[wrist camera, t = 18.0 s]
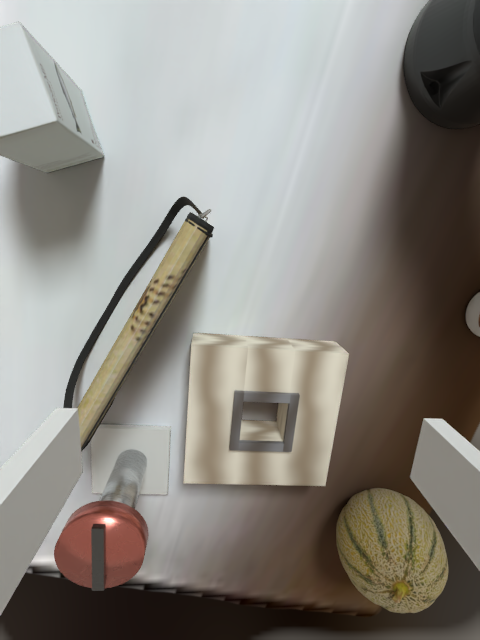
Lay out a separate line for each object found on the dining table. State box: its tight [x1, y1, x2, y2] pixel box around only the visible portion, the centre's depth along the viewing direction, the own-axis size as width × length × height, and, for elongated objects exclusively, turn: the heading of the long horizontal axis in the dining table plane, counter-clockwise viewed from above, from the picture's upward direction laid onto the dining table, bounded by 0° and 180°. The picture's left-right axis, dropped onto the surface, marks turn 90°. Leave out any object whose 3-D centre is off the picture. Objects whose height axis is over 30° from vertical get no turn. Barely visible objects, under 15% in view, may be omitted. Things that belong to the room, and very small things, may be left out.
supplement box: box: [0, 22, 104, 173], centre depth 32 cm, size 7×7×13 cm
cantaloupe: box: [336, 488, 448, 613], centre depth 48 cm, size 15×15×15 cm
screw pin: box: [54, 449, 148, 591], centre depth 41 cm, size 9×9×15 cm
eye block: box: [184, 333, 349, 486], centre depth 46 cm, size 20×20×6 cm
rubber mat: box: [91, 424, 171, 495], centre depth 49 cm, size 11×11×1 cm
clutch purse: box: [64, 197, 214, 451], centre depth 37 cm, size 30×7×15 cm, turn 148°
